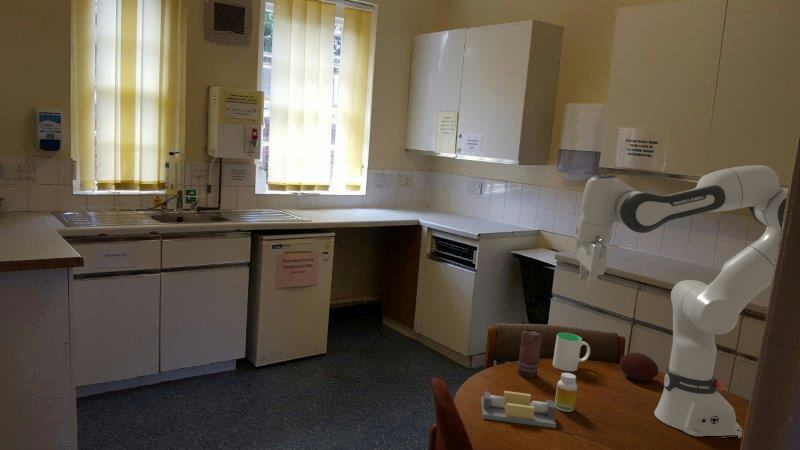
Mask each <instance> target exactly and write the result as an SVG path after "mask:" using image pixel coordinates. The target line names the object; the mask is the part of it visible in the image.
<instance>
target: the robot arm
mask: <svg viewBox="0 0 800 450" xmlns="http://www.w3.org/2000/svg"><path fill="white" fill-rule="evenodd" d="M779 180H780V179H779V176H778V174H777V173H776V172H775V170H774V169H773V168H772V167H769V166H767V165H762V164H761V165H759V164H758V165H742V166H733V167H730V168H724V169H719V170H716V171H712V172H709V173H708V174H704V175H703V176H701V177H700V179H699V180H698V181H697V184H696V186H695V187H694V188H692V189H689V190H685V191H680V192H675V193H671V194H666V195H657V194H653V193H648V192H643V191H639V190H637V189H636V188H634V187H631V186H630V185H628V184H626V183H625V182H623V181H622V180H621V179H620V178H619V177H618V176H617V175H615V174H598V175H592V176H591V177H590V178H588V180H587V182H586V184H585V187H584V191H583V196H582V202H581V210H582V211H581V216H579V221H578V226H576V230H575V231H576V232H575V235H576V246H575V250H576V251H575V257H576V260H577V261H578V262H579V278H580V279H581V280H584V281H586V287H587V288H588V289H595V287H596V282H597V279H598V278H599V275H600V276H603V275H604V274H605V272H606V265H607V258H608V247H607V246H606V244H610V243H611V242H612V241H611V240H612V234H613V228H614V223H617V222H619V223H621V224H623V225H625V226H626V227H627V228H629V229H630V230H631V231H633V232H635V233H639V234H645V233H651V232H652V231H654V230H655V231H656V229H658V228H660V227H661V226H662V225H664V224H666V223H668V222H670V221H673V220H677V219H681V218H685V217H689V216H694V215H698V214H699V215H700V214H702V213H714V212H715V213H718V212H719V213H720V212H728V211H734V210H740V209H744V208H747V207H748V211H749V213H750V215H751V217H752V218H753V219H754V220H755V221H756V222H757V223H759V224H761V225H763V226H766V229H765V231H764V232H763V234H762V235H761V236H760V237H759V238H758V239H757V240H755V241H754V242H752V243H751V244H749V245H748V246H747V247H745V248H744V249H743V250H741V251H739V252H738V253H737V254H735V255H734V256H733V257H731V258H730V259H728V260H727V261H726V262H724V264H723V265H722V267H721V271H720V272H719V274H718V275H717V276H716V277H715V278H714V279H713V280H712V281H711V282H710V283H709V284H706V283H705V282H702V281H699V280H696V279H684V280H681V281H679V282H677V283H675V285H674V286H673V287H672V290H671V292H670V301H671V306H672V345H671V351H670V352H671V353H670V359H669V365H668V366H667V367H666V371H665V375H664V380H663V391H662V393H661V397H660V399H659V401H658V404H657V407H655V410H654V416H655V417H656V418H657V419H658V420H659V421H660V422H662V423H663V424H665V425H667V426H670V427H673V428H675V429H677V430H680V431H682V432H684V433H686V434H688V435H689V436H692V435H693V437H703V436H724V435H725V436H726V435H738V437H739V438H738V439H742V438H741V437H742V431H743V432H744V429H743V428H742V426H740V425H739V423H738V422H736V421H737V420H736V419H737V417H736V412H735V409H734V408H733V406H732V405H731V403H730V402H728V401H727V400H726V398H725V397H723V396H722V394H721V393H719V391H720V392H722V391H724V390H725V389H726V385H725V384H724V383H723V382H722V381H719V380H718V379H717V378H716V377H715V376H714V371H715V369H714V368H715V364H716V359H717V353H718V352H717V351H718V349H717V345H716V341H715V335H724V334H728V333H730V332H731V331H732V330H733V329H734V328H735V327H736V326H737V324H738V323H739V319H740V314H741V313H742V311H744V309H745V308H746V307H747V305H748V304H749V303H750V302H751V301H752V300H753V299H754V298H755V297H756V296H757V295H758V294H760V293H761V292H763V291H764V290H765V289H766V288H768V287H769V286H770V285H772V284H771V280H772V274H773V268H774V264H775V259H776V254H777V249H778V244H779V239H780V233H781V226H782V221H783V215H784V209H785V204H786V198H787V193H788V189H789V188H785V187H784V188H783V187H781V185H780V181H779ZM718 390H719V391H718ZM737 430H739V431H737Z"/></svg>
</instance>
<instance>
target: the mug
mask: <svg viewBox="0 0 800 450" xmlns="http://www.w3.org/2000/svg"><path fill="white" fill-rule="evenodd" d="M582 339H583V338H582V337H581V336H579V335H577V334H574V333H570V332H559V333H557V334H556V339H555V345H554V346H555V347H554V351H553V353H554V354H553V360H552V366H553V368H556V369H558V370H561V371H565V372H575V371H578V368H579V367H578V366H579V363H582V362H585V361H587V360H588V358H589V357H590V354H591V347H590V345H589V343H588V342H586V341H582ZM583 345H585V346H586V354H585V355H584V356H583V357H582V358H580V353H581V348H582V346H583Z"/></svg>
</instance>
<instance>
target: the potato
mask: <svg viewBox="0 0 800 450" xmlns="http://www.w3.org/2000/svg"><path fill="white" fill-rule="evenodd" d="M619 366H620V369H621V371H622V373H623V374H624V375H626V376H627V377H628V378H630V379H631V380H635V381H649V380H652V379H655V377H657V376H658V375H659V367H658V364H657V363H656V362H655V360H653V359H652V358H651V357H650V356H648V355H646V354H644V353H640V352H629V353H627V354H625V355H623V356H622V357H621V358H620V360H619Z"/></svg>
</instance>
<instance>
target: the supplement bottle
mask: <svg viewBox="0 0 800 450" xmlns="http://www.w3.org/2000/svg"><path fill="white" fill-rule="evenodd" d="M560 375H561V376H560V380H558V381H557V383H556V384H557V385H556V392H555V399H554V406H555V409H556V410H559V411H561V412H567V413H570V412H573V411H574V410H575V405H576V397H577V393H578V392H577V391H578V385H577V383H576V380H577V379H576V378H577V376H576V375H575V374H573V373H570V372H562V373H561V374H560Z"/></svg>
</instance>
